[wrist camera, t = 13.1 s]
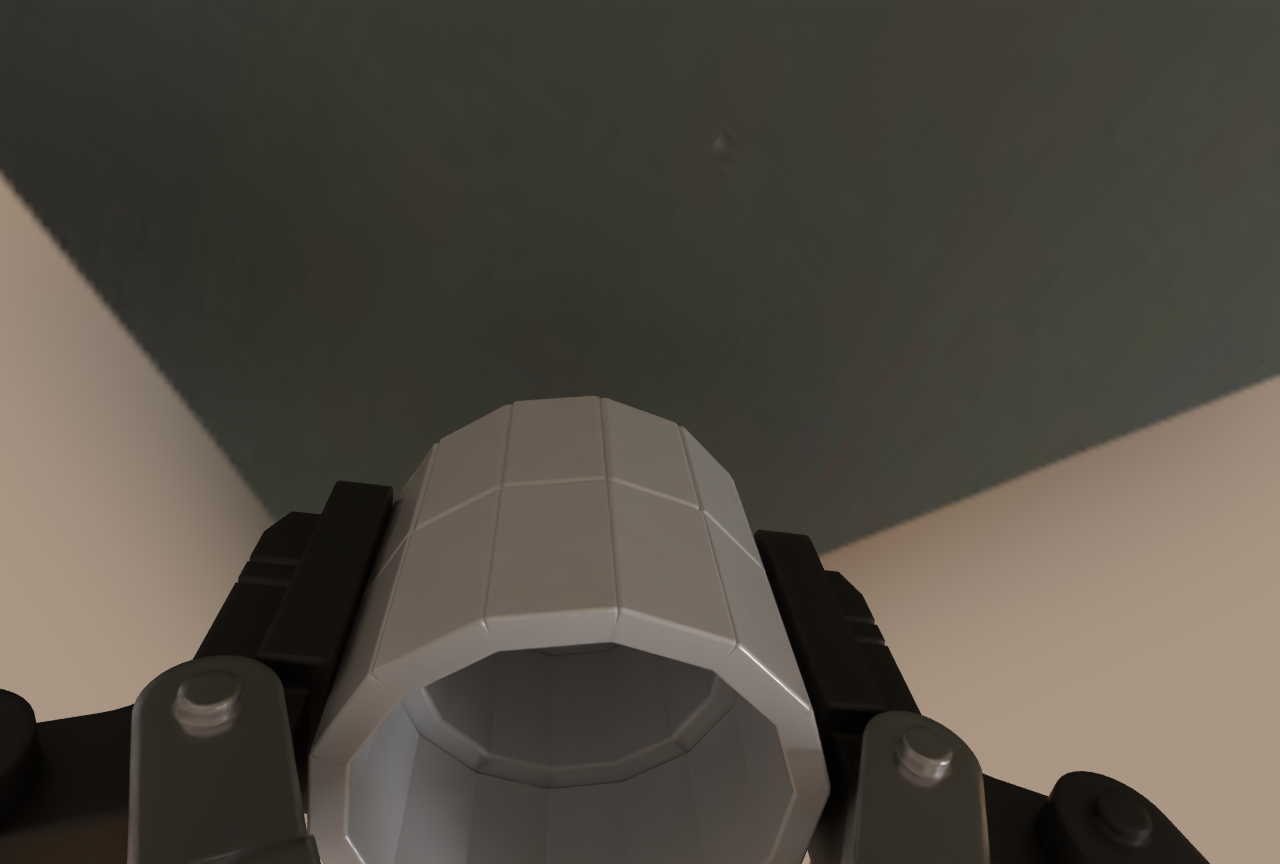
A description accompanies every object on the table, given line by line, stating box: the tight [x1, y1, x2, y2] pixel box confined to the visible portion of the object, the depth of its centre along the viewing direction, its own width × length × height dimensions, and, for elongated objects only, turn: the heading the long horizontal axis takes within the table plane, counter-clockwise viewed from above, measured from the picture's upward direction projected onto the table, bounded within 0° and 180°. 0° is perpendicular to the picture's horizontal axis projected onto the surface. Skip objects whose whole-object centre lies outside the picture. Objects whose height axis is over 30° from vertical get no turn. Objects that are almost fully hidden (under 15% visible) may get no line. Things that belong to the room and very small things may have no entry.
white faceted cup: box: [307, 396, 831, 864], centre depth 11 cm, size 5×5×5 cm
